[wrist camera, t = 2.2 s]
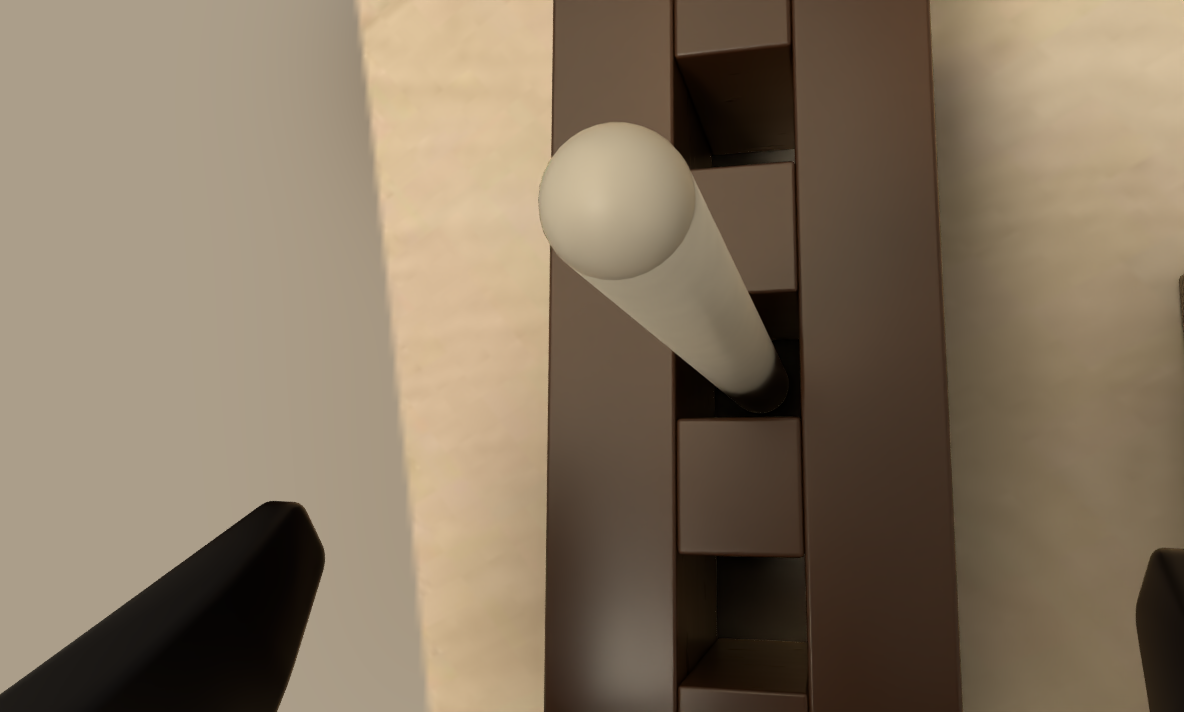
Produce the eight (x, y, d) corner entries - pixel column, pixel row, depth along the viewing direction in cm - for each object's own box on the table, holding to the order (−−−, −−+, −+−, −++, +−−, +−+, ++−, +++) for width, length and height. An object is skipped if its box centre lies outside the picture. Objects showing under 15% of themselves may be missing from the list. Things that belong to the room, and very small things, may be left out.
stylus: (790, 415, 20) (682, 256, 6) (733, 415, 20) (514, 266, 7) (789, 358, 20) (681, 88, 6) (733, 360, 20) (517, 104, 7)
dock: (906, 41, 20) (925, -98, 15) (936, 765, 18) (970, 864, 13) (616, 73, 22) (552, -44, 17) (614, 740, 20) (541, 820, 15)
